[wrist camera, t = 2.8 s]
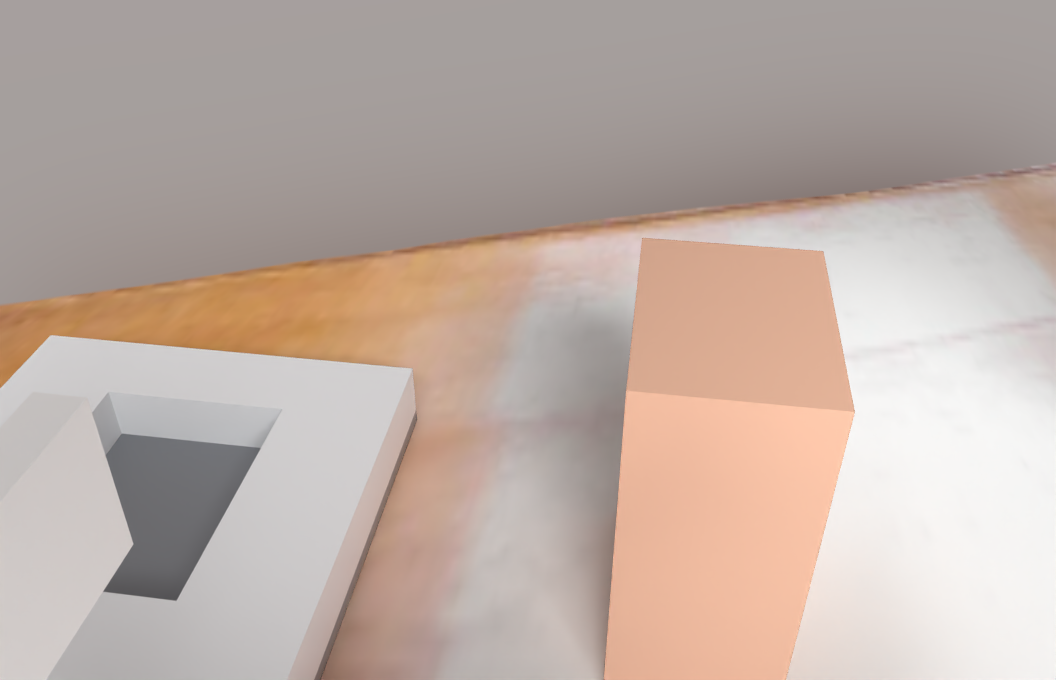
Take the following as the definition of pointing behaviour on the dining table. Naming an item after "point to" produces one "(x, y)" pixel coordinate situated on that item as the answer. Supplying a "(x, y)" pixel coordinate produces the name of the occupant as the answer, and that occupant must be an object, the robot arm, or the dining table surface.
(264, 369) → the pocket plate
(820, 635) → the dining table surface
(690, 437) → the peach block
